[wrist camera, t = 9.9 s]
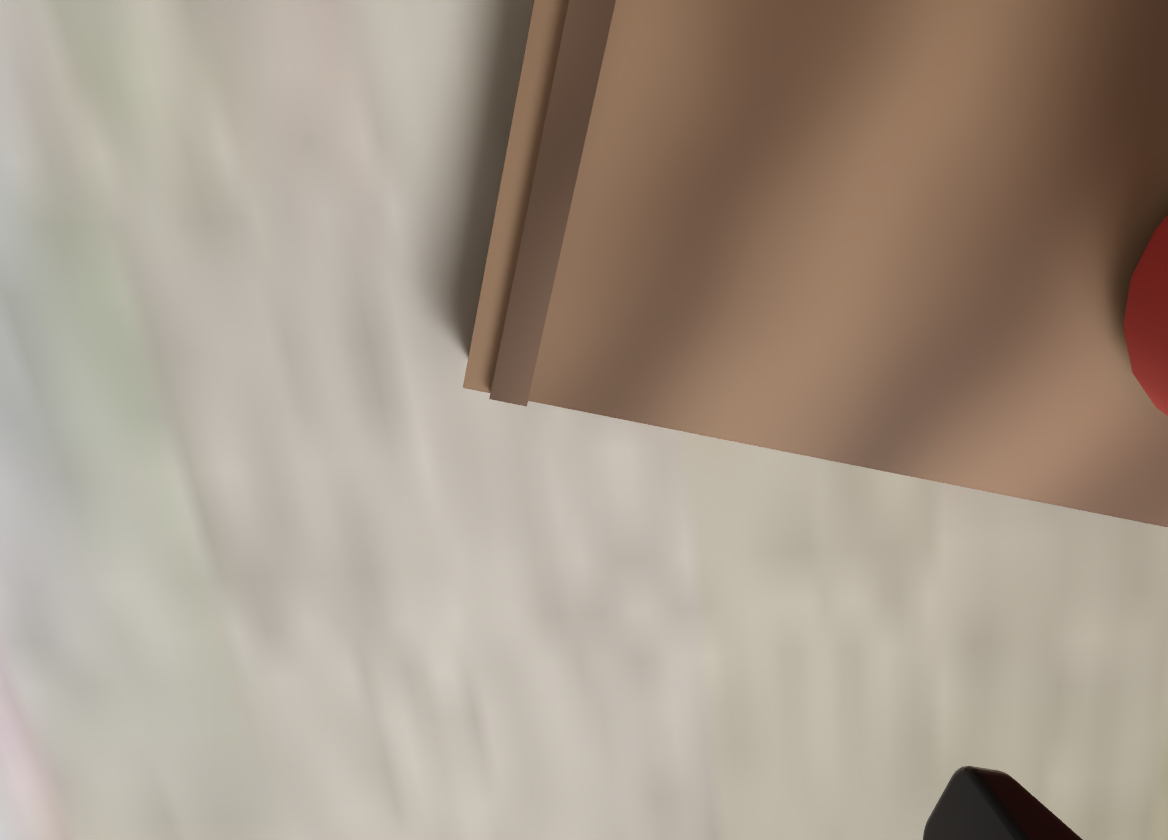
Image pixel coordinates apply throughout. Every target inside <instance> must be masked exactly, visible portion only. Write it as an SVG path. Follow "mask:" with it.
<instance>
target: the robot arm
mask: <svg viewBox="0 0 1168 840" xmlns="http://www.w3.org/2000/svg"><path fill="white" fill-rule="evenodd" d="M923 840H1082V839H1081V838H1080V837H1079V836H1078V835H1077V834H1076V833H1074V832H1073V831H1072V830H1071V829H1070V828H1069V827H1068V826H1066V825H1065V824H1064V823H1063V822H1062V821H1061V820H1060V819H1059V818H1057V817H1056V816H1055V815H1054V814H1053V813H1052V812H1051V811H1049V810H1048V809H1047V808H1046V807H1045V806H1044V805H1043V804H1042V803H1040V802H1039V801H1038V800H1037V799H1036V798H1035V797H1034V796H1032V795H1031V794H1030V793H1029V792H1028V791H1027V790H1026V789H1025V788H1023V787H1022V786H1021V785H1020V784H1019V783H1018V782H1017V781H1015V780H1014V779H1013V778H1012V777H1011V776H1009V775H1008V774H1006V773H1004V772H1001V771H997V770H991V769H985V768H979V767H973V766H965V767H961V768H960V769H958V770H957V771H956V772H955V773H954V774H953V776H952V777H951V779H950V781H949V783H948V785H947V786H946V788H945V790H944V792H943V794H942V795H941V797H940V799H939V801H938V803H937V804H936V806H935V808H934V810H933V811H932V813H931V815H930V817H929V819H928V821H927V823H926V826H925V830H924V836H923Z"/></svg>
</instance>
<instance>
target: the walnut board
mask: <svg viewBox="0 0 1168 840" xmlns="http://www.w3.org/2000/svg"><path fill="white" fill-rule="evenodd" d="M1167 215H1168V0H534V5H533V11H532V16H531V21H530V27H529V32H528V38H527V43H526V48H525V54H524V59H523V65H522V70H521V76H520V81H519V86H518V92H517V97H516V103H515V108H514V114H513V119H512V124H511V130H510V135H509V141H508V146H507V152H506V157H505V162H504V168H503V173H502V179H501V184H500V189H499V195H498V200H497V206H496V211H495V217H494V222H493V227H492V233H491V238H490V244H489V249H488V255H487V260H486V265H485V271H484V276H483V282H482V287H481V293H480V298H479V303H478V309H477V314H476V320H475V325H474V330H473V336H472V341H471V347H470V352H469V358H468V363H467V368H466V374H465V379H464V385H463V388H467V389H472V390H477V391H482V392H487V393H491V394H490V399H492V400H498V401H503V402H508V403H513V404H518V405H523V406H527V402H528V401H533V402H538V403H543V404H548V405H553V406H558V407H563V408H568V409H573V410H578V411H583V412H588V413H593V414H598V415H603V416H609V417H614V418H619V419H624V420H629V421H634V422H639V423H644V424H649V425H654V426H659V427H664V428H669V429H674V430H679V431H684V432H689V433H694V434H699V435H704V436H710V437H715V438H720V439H725V440H730V441H735V442H740V443H745V444H750V445H755V446H760V447H765V448H770V449H775V450H780V451H785V452H790V453H795V454H800V455H806V456H811V457H816V458H821V459H826V460H831V461H836V462H841V463H846V464H851V465H856V466H861V467H866V468H871V469H876V470H881V471H886V472H891V473H896V474H902V475H907V476H912V477H917V478H922V479H927V480H932V481H937V482H942V483H947V484H952V485H957V486H962V487H967V488H972V489H977V490H982V491H987V492H992V493H998V494H1003V495H1008V496H1013V497H1018V498H1023V499H1028V500H1033V501H1038V502H1043V503H1048V504H1053V505H1058V506H1063V507H1068V508H1073V509H1078V510H1083V511H1088V512H1094V513H1099V514H1104V515H1109V516H1114V517H1119V518H1124V519H1129V520H1134V521H1139V522H1144V523H1149V524H1154V525H1159V526H1164V527H1168V416H1167V415H1166V414H1164V413H1163V412H1162V411H1160V410H1159V409H1158V408H1156V407H1155V405H1154V404H1153V402H1152V401H1151V399H1150V398H1149V396H1148V395H1147V394H1146V392H1145V391H1144V389H1143V388H1142V386H1141V385H1140V383H1139V382H1138V380H1137V379H1136V377H1135V376H1134V374H1133V373H1132V368H1131V363H1130V358H1129V353H1128V348H1127V343H1126V338H1125V333H1124V327H1123V323H1124V317H1125V311H1126V305H1127V299H1128V293H1129V287H1130V281H1131V277H1132V274H1133V272H1134V270H1135V268H1136V266H1137V264H1138V262H1139V260H1140V258H1141V256H1142V254H1143V252H1144V250H1145V248H1146V246H1147V244H1148V242H1149V240H1150V238H1151V236H1152V234H1153V232H1154V230H1155V229H1156V227H1157V226H1158V225H1159V224H1160V223H1161V222H1162V221H1163V219H1164V218H1165V217H1166V216H1167Z"/></svg>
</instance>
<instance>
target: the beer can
mask: <svg viewBox="0 0 1168 840" xmlns="http://www.w3.org/2000/svg"><path fill="white" fill-rule="evenodd" d="M1123 327H1124V333H1125V338H1126V343H1127V348H1128V353H1129V358H1130V363H1131V368H1132V373H1133V374H1134V376H1135V377H1136V379H1137V380H1138V382H1139V383H1140V385H1141V386H1142V388H1143V389H1144V391H1145V392H1146V394H1147V395H1148V396H1149V398H1150V399H1151V401H1152V402H1153V404H1154V405H1155V407H1156V408H1158V409H1159V410H1160V411H1162V412H1163V413H1164V414H1166V415H1167V416H1168V215H1167V216H1166V217H1165V218H1164V219H1163V221H1162V222H1161V223H1160V224H1159V225H1158V226H1157V227H1156V229H1155V230H1154V232H1153V234H1152V236H1151V238H1150V240H1149V242H1148V244H1147V246H1146V248H1145V250H1144V252H1143V254H1142V256H1141V258H1140V260H1139V262H1138V264H1137V266H1136V268H1135V270H1134V272H1133V274H1132V277H1131V281H1130V287H1129V293H1128V299H1127V305H1126V311H1125V317H1124V323H1123Z"/></svg>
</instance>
